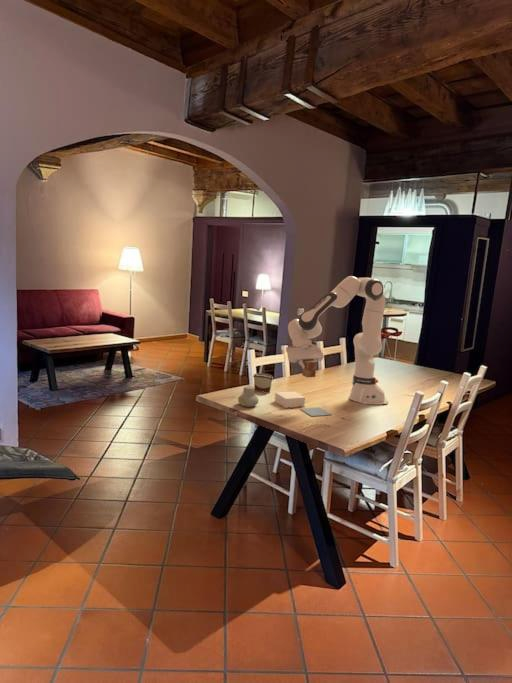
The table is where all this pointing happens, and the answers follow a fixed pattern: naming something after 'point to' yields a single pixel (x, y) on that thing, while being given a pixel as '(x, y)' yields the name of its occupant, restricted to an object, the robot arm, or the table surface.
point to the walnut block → (309, 368)
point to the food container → (262, 382)
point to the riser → (289, 399)
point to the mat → (315, 411)
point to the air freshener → (248, 397)
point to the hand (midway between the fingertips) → (309, 367)
